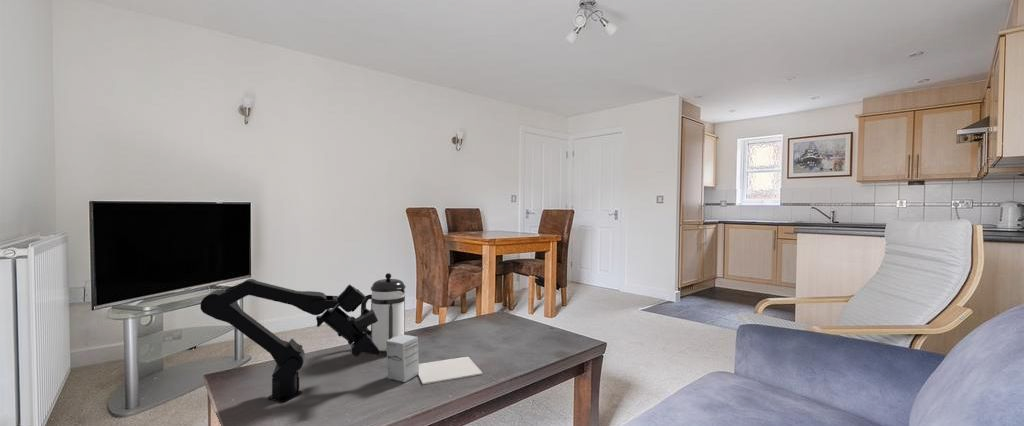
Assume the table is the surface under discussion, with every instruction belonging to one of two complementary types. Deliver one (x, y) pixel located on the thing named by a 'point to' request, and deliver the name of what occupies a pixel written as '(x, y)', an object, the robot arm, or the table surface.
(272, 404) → the table surface
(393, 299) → the coffee press
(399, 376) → the supplement box
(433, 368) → the mat
